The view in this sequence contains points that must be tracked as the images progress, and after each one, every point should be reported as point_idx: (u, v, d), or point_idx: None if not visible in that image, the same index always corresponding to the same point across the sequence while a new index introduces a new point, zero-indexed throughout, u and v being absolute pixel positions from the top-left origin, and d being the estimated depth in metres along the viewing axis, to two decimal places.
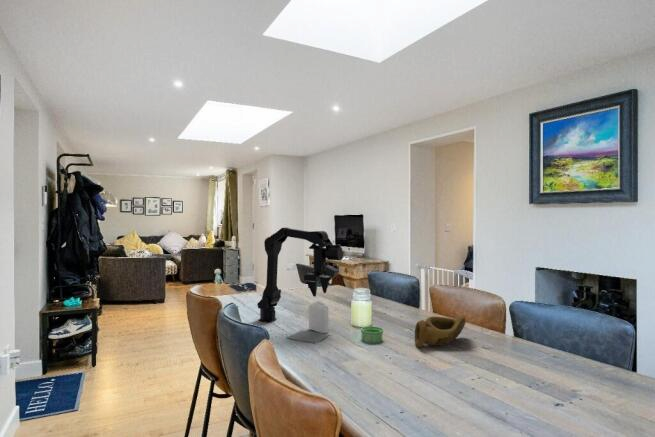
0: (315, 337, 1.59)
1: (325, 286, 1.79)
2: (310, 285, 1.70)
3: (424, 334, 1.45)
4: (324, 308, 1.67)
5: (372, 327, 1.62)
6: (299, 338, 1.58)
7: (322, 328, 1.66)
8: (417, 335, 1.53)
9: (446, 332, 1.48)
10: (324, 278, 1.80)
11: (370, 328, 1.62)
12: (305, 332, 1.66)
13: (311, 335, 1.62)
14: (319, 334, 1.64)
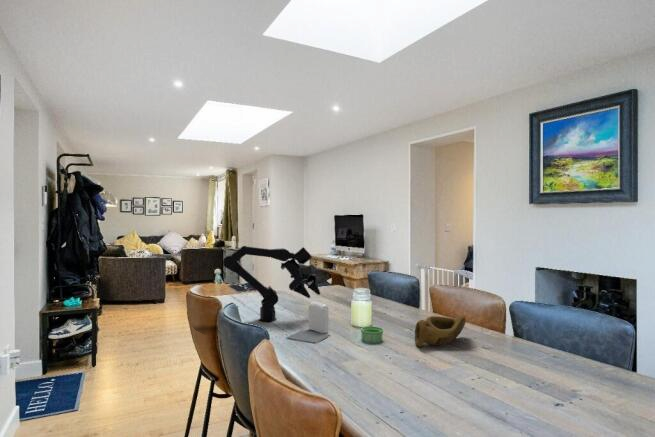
0: (315, 337, 1.59)
1: (316, 288, 1.89)
2: (300, 291, 1.81)
3: (424, 334, 1.46)
4: (324, 308, 1.67)
5: (372, 327, 1.62)
6: (299, 338, 1.58)
7: (322, 328, 1.66)
8: (417, 335, 1.53)
9: (446, 332, 1.48)
10: (311, 284, 1.91)
11: (370, 328, 1.62)
12: (305, 332, 1.66)
13: (311, 335, 1.62)
14: (319, 334, 1.64)
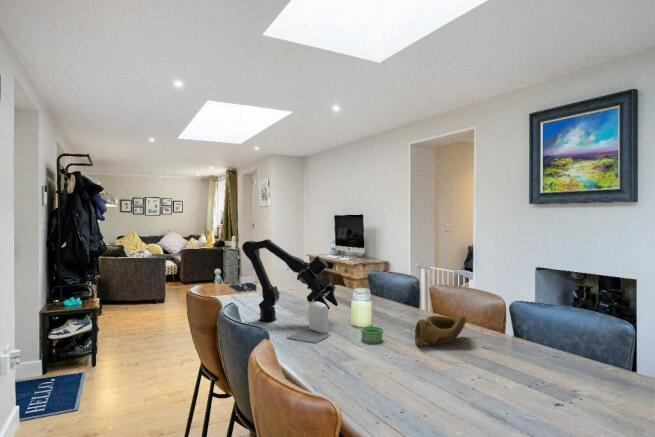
0: (315, 337, 1.59)
1: (333, 300, 1.83)
2: None
3: (424, 333, 1.46)
4: (324, 308, 1.66)
5: (372, 327, 1.62)
6: (299, 338, 1.58)
7: (322, 328, 1.66)
8: (417, 334, 1.54)
9: (446, 331, 1.49)
10: (328, 295, 1.85)
11: (370, 328, 1.62)
12: (305, 332, 1.66)
13: (311, 335, 1.62)
14: (319, 334, 1.64)
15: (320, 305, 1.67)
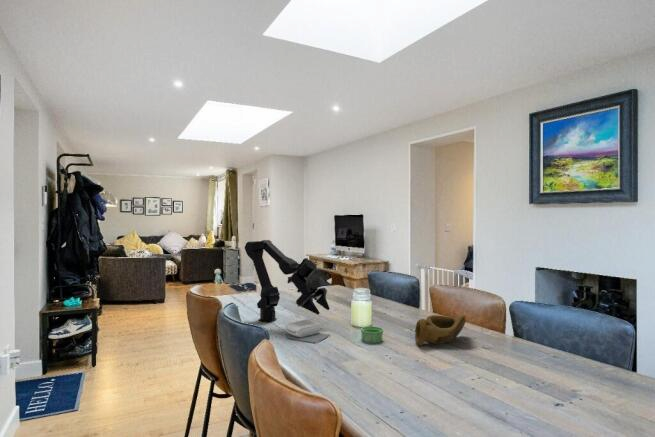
0: (315, 337, 1.59)
1: (325, 303, 1.76)
2: (308, 307, 1.68)
3: (424, 332, 1.47)
4: (300, 334, 1.58)
5: (372, 327, 1.62)
6: (299, 338, 1.58)
7: None
8: (417, 333, 1.55)
9: (446, 331, 1.50)
10: (319, 298, 1.78)
11: (370, 328, 1.62)
12: None
13: (311, 335, 1.62)
14: (319, 334, 1.64)
15: (295, 335, 1.59)
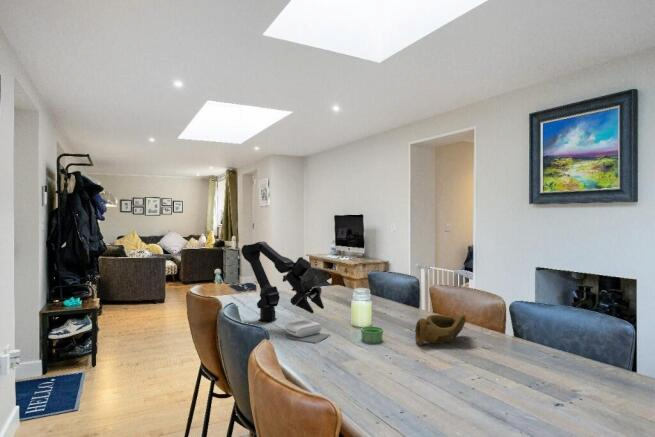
0: (315, 337, 1.59)
1: (319, 302, 1.77)
2: (302, 306, 1.68)
3: (424, 332, 1.48)
4: (300, 334, 1.58)
5: (372, 327, 1.62)
6: (299, 338, 1.58)
7: None
8: (418, 333, 1.55)
9: (447, 330, 1.50)
10: (314, 297, 1.79)
11: (370, 328, 1.62)
12: None
13: (311, 335, 1.62)
14: (319, 334, 1.64)
15: (295, 335, 1.59)
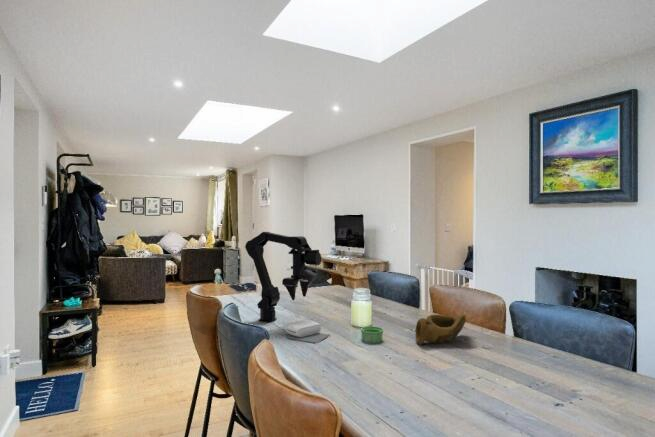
0: (315, 337, 1.59)
1: (305, 290, 1.84)
2: (289, 289, 1.76)
3: (425, 331, 1.48)
4: (300, 334, 1.58)
5: (372, 327, 1.62)
6: (299, 338, 1.58)
7: None
8: (418, 332, 1.56)
9: (447, 330, 1.51)
10: (304, 282, 1.85)
11: (370, 328, 1.62)
12: None
13: (311, 335, 1.62)
14: (319, 334, 1.64)
15: (295, 335, 1.59)
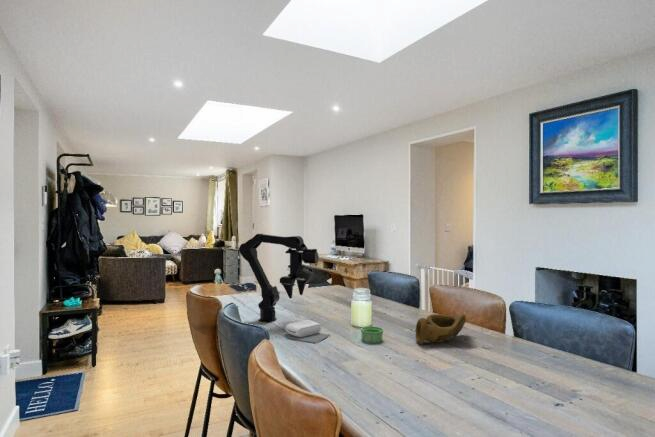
0: (315, 337, 1.59)
1: (301, 288, 1.88)
2: (286, 287, 1.79)
3: (425, 331, 1.49)
4: (300, 334, 1.58)
5: (372, 327, 1.62)
6: (299, 338, 1.58)
7: None
8: (418, 332, 1.57)
9: (447, 329, 1.52)
10: (301, 281, 1.89)
11: (370, 328, 1.62)
12: None
13: (311, 335, 1.62)
14: (319, 334, 1.64)
15: (295, 335, 1.59)
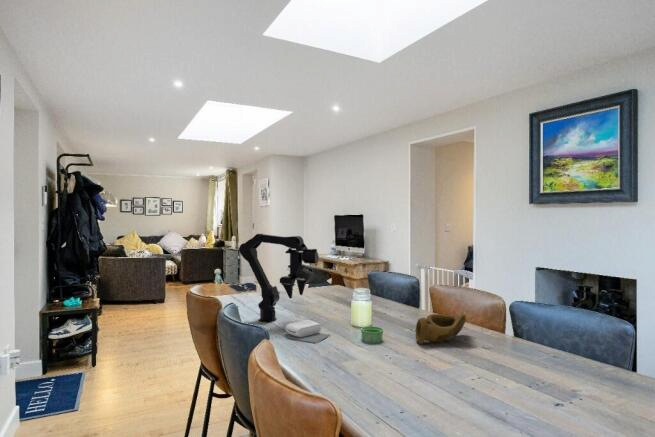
0: (315, 337, 1.59)
1: (301, 288, 1.88)
2: (286, 287, 1.79)
3: (425, 331, 1.49)
4: (300, 334, 1.58)
5: (372, 327, 1.62)
6: (299, 338, 1.58)
7: None
8: (418, 332, 1.57)
9: (447, 329, 1.52)
10: (301, 281, 1.89)
11: (370, 328, 1.62)
12: None
13: (311, 335, 1.62)
14: (319, 334, 1.64)
15: (295, 335, 1.59)
